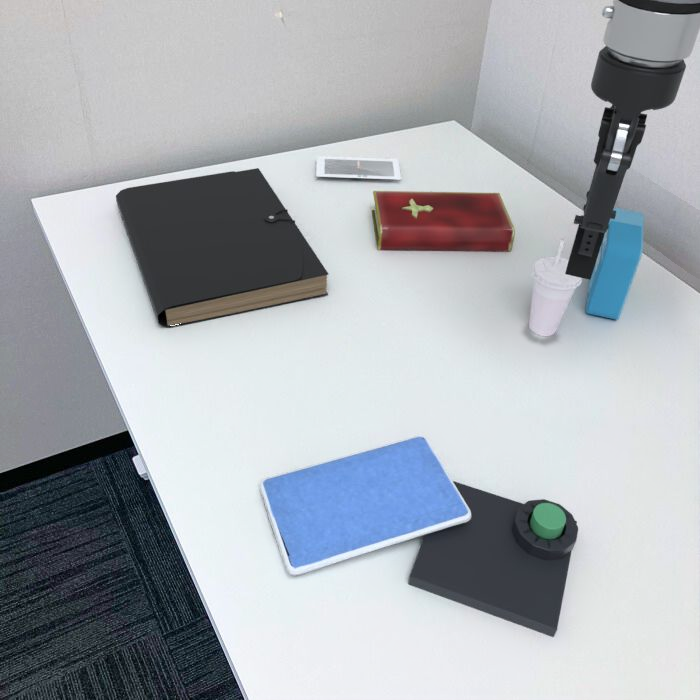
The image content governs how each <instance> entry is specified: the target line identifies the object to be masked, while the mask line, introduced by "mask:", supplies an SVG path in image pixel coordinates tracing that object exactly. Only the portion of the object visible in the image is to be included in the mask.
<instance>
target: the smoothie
mask: <svg viewBox="0 0 700 700" xmlns="http://www.w3.org/2000/svg"><path fill="white" fill-rule="evenodd" d="M565 242H566V239H565V238H563V237H562V238H560V239H559V245H558V246H557V252H556V254H555V256H545V257H541V258H539V259H538V260H536V261H535V262H534V265H533V268H532V271H531V272H532V276H533V283H532V292H531V294H532V295H531V302H530V310H529V311H530V313H529V321H528V328H529V330H530V331H531V332H532V333H533V334H536V335H537V336H541V337H550V336H553V335H554V334H555V333H556V332H557V329H558V327H559V325H560V323H561V322H562V319H563V317H564V315H565V313H566V310H567V308H568V307H569V304H570V302H571V300H572V297H573V296H574V294H575V292H576V289H577V288H579V287H580V285H581V284H582V281H583V278H580V277H575V276H571V275H567V274H565V273H566V268H567V265H568V261H569V259H567V258H564V257H561V256H562V253H563V249H564V246H565Z"/></svg>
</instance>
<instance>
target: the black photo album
mask: <svg viewBox="0 0 700 700" xmlns="http://www.w3.org/2000/svg"><path fill="white" fill-rule="evenodd" d="M115 201H116V205H117V208H118V210H119V214H120V216H121V218H122V220H121V221H122V223H123V226H124V228H125V231H126V234H127V237H128V240H129V242H130V245H131V248H132V251H133V255H134V257H135V260H136V263H137V265H138V269H139V272H140V274H141V278H142V280H143V283H144V286H145V289H146V292H147V295H148V297H149V301H150V304H151V307H152V310H153V312H154V314H155V318H156V321H157V324H159V325H161V326H162V327H164V328H172V327H171V326H170V325H175V324H179V325H181V326H186V325H190V324H195V323H199V322H205V321H208V320H215V319H219V318H223V317H229V316H232V315H237V314H238V315H239V314H242V313H246V312H251V311H256V310H262V309H266V308H271V307H275V306H281V305H286V304H290V303H294V302H299V301H303V300H309V299H314V298H319V297H323V296H328V295H329V293H328V289H327V284H328V283H327V282H328V280H327V279H328V275H329V272H328V271H327V269H326V268H325V266H324V265H323V263H322V262H321V260H320V259H319V257H318V255H317V254H316V253H315V251H314V250H313V248H312V247H311V245H310V243H309V242H308V241H307V239H306V237H305V236H304V235H303V233H302V231H301V230H300V229H299V227H298V226H297V224H296V220H294V219H293V218H292V216H291V215H290V213H289V211H288V209H286V207H285V206H284V204H283V203H282V202H281V200H280V199H279V197H278V195H277V193H276V192H275V191H274V189H273V188H272V187H271V185H270V183H269V182H268V180H267V179H266V177H265V176H264V174H263V172H262V171H261V170H260V168H259V167H257V168H250V169H245V170H237V171H235V170H233V171H225V172H219V173H218V172H217V173H213V174H205V175H200V176H194V177H193V176H192V177H188V178H182V179H175V180H169V181H163V182H155V183H150V184H143V185H137V186H130V187H126V188H123V189H122V190H120V191H119V192H117V194H116V195H115ZM180 323H181V324H180ZM185 324H186V325H185ZM176 327H178V326H177V325H176Z"/></svg>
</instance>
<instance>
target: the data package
mask: <svg viewBox="0 0 700 700" xmlns="http://www.w3.org/2000/svg"><path fill="white" fill-rule="evenodd" d="M613 210H614V211H616V217H615V219H610V221H609V228H608V230H607V232H606V233H605V235H604V238H603V241H602V244H601V247H600V251H599V254H598V257H597V260H596V263H595V267H594V270H593V273H592V276H591V280H589V279H588V287H587V296H586V304H585V305H586V306H585V313H586V314H588V315H593V316H598V317H603V318H607V319H612V320H616V321H617V320H619V319H620V317H621V315H622V313H623V310H624V306H625V305H626V301H627V298H628V296H629V292H630V291H631V290H630V289H631V287H632V284H633V282H634V279H635V276H636V273H637V270H638V268H639V265H640V262H641V259H642V256H643V250H644V223H645V222H644V221H645V220H644V219H645V215H644V213H643V212H639V211H634V210H628V209H624V208H619V207H614V209H613Z"/></svg>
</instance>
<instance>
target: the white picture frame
mask: <svg viewBox="0 0 700 700" xmlns="http://www.w3.org/2000/svg"><path fill="white" fill-rule="evenodd" d="M399 162H400V161H399V158H382V157H381V158H380V157H379V158H377V157H354V156H353V157H352V156H326V155H316V164H315V165H316V167H315V168H316V169H315V177H317V178H319V177H321V178H343V179H344V178H346V179H371V180H372V179H374V180H397V181H399V180H400V181H401V180H402V175H401V168H400V163H399Z"/></svg>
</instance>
